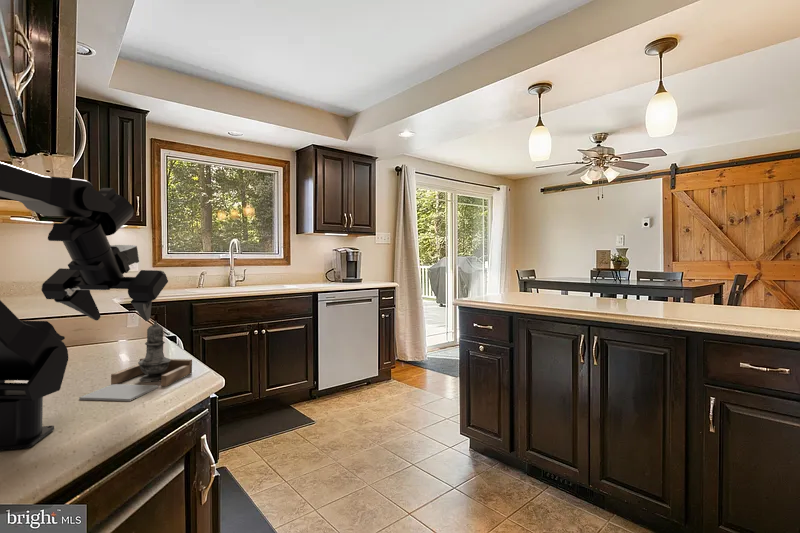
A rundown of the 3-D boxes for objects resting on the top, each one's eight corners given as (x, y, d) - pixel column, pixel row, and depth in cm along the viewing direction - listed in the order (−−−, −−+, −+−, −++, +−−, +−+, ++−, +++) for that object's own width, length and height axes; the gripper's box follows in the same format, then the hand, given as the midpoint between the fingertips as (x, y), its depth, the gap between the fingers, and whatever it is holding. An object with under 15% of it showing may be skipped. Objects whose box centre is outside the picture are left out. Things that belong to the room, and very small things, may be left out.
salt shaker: (155, 383, 83) (156, 323, 82) (130, 381, 84) (131, 321, 84) (177, 375, 88) (178, 319, 88) (153, 373, 90) (154, 318, 89)
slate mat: (130, 401, 72) (130, 398, 72) (79, 399, 72) (79, 397, 72) (158, 387, 80) (158, 385, 80) (112, 386, 80) (112, 384, 80)
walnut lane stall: (166, 386, 81) (166, 370, 81) (111, 384, 81) (111, 369, 81) (191, 373, 90) (192, 359, 90) (142, 371, 91) (142, 358, 91)
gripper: (168, 227, 76) (190, 293, 85) (64, 224, 75) (97, 291, 85) (138, 262, 67) (166, 331, 76) (19, 259, 66) (61, 330, 75)
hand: (123, 319), depth 78 cm, fingers open, 9 cm apart
